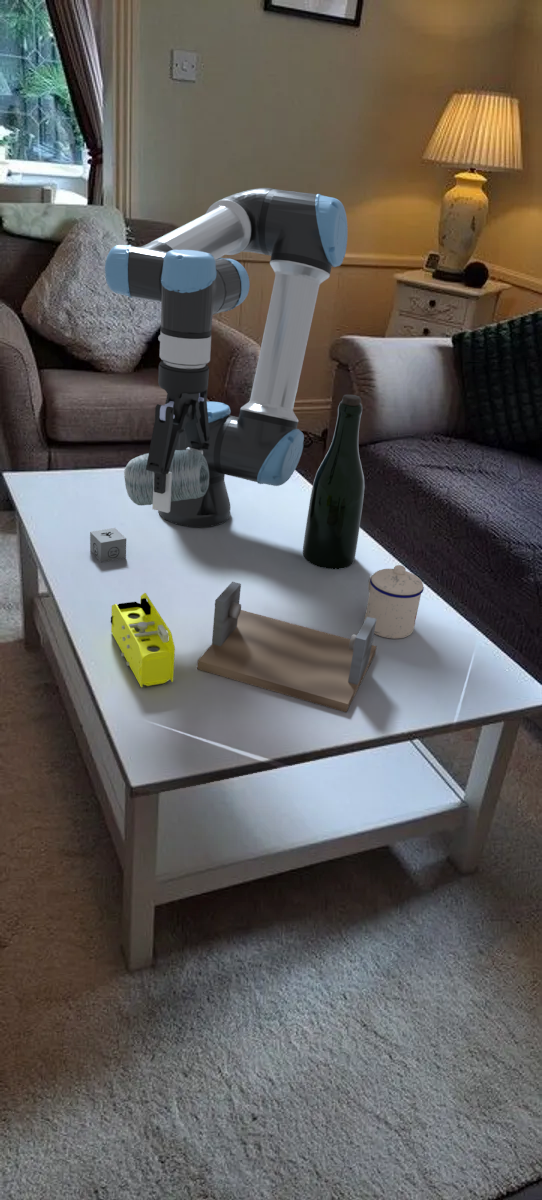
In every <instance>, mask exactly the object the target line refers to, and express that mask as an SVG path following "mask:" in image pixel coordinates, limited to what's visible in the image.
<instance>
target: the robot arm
mask: <svg viewBox="0 0 542 1200" xmlns="http://www.w3.org/2000/svg"><path fill="white" fill-rule="evenodd" d="M347 245H348V219H347V213H346V210H345V206H344V204H343V202H342V201H340V200H339V199H337V198H335V197H331V196H326V195H322V194H321V193H317V194H316V193H309V192H308V193H307V192H302V191H301V192H299V191H292V190H291V191H290V190H284V189H283V190H282V189H277V188H272V187H258V188H251V189H248V190H244V191H240V192H237V193H233V194H231V195H228V196H225V197H224V198H221V199H219V200H217V201H215V202H214V203H212V204H211V205H210V206H209V207H208V209H207V210H206V212H205V214H203V215H201V216H199V217H197V218H194V219H193V220H191V221H189V222H187V223H186V224H183V225H181V226H179V227H178V228H176V229H174V230H171V231H170V232H168V233H165V234H164V235H163V236H162V235H161V236H160V237H158V238H156V239H154V240H152V241H150V242H148V243H147V244H144V245H142V246H134V245H133V244H128V245H126V244H117V245H114V246H112V247H111V249H110V250H109V252H108V254H107V256H106V260H105V262H104V263H105V264H104V274H105V281H106V284H107V286H108V288H109V290H110V291H111V292H113V293H114V294H118V295H122V296H126V297H128V298H130V299H133V298H134V299H139V300H140V299H141V300H144V301H145V300H146V301H152V302H157V303H161V304H160V305H161V307H160V309H161V310H160V332H159V333H160V334H159V335H158V337H157V338H158V339H157V340H158V341H159V358H160V359H161V360H160V362H158V379H157V380H158V381H157V382H158V384H157V385H158V386H159V388H161V389H162V390H164V391H165V392H166V399H165V403H164V404H156V405H155V410H154V411H155V412H154V423H153V428H152V429H153V430H152V434H151V440H150V446H149V451H148V453H149V455H148V460H147V466H146V470H147V471H152V472H154V480H153V504H152V510H154V511H157V512H158V515H160V517H161V518H163V519H164V520H165V521H167V522H170V523H171V524H172V523H173V524H175V525H179V526H182V527H183V526H184V527H189V528H190V527H193V528H209V527H214V526H218V525H221V524H224V523H225V522H227V521H228V520H229V519H230V517H231V502H230V497H229V493H228V490H227V489H228V488H227V486H226V483H225V476H226V475H227V476H230V477H234V478H239V479H242V480H246V481H250V482H254V483H257V484H259V485H268V486H274V487H279V486H282V485H284V484H285V483H287V482H288V481H289V479H290V478H292V475H293V474H294V472H295V471H296V469H297V466H298V465H299V462H300V459H301V456H302V453H303V449H304V442H305V441H304V440H305V436H304V433H303V432H302V431H301V430H300V429H299V428H298V425H299V419H298V417H297V416H296V414H295V412H294V406H295V400H296V396H297V392H298V387H299V382H300V377H301V374H302V369H303V363H304V359H305V355H306V350H307V344H308V341H309V337H310V331H311V326H312V322H313V317H314V313H315V307H316V303H317V299H318V293H319V289H320V285H321V284H322V283H323V282H325V281H326V280H328V279H329V278H330V276H331V271H332V268H336V267H340V266H341V265H342V264H343V263H344V258H345V256H346V252H347ZM242 252H243V253H245V252H246V253H247V252H248V253H255V254H260V255H265V256H269V257H270V260H269V265H270V267H271V268H272V270H273V272H274V275H275V276H274V281H273V286H272V290H271V296H270V300H269V306H268V311H267V316H266V321H265V325H264V330H263V336H262V340H261V345H260V348H259V350H260V351H259V354H258V360H257V366H256V369H255V370H256V371H255V375H254V380H253V384H252V389H251V394H250V400H249V401H248V402H246V403H245V404H244V405H242V406H241V407H240V409H239V414H238V416H235V415H231V412H232V411H231V407H230V406H229V405H228V404H226V403H224V402H219V401H208V388H209V374H210V367H209V366H208V363H210V362H211V349H212V348H211V347H212V326H213V316H214V315H216V314H217V315H218V314H220V313H223V312H228V311H231V310H234V309H235V308H236V307H238V306H240V305H241V304H242V303H243V302H244V301H245V299H246V298H247V297H248V295H249V292H250V284H251V283H250V277H249V274H248V272H247V270H246V268H245V267H244V266H243V265H242V264H241V262H239V261H237V260H235V259H232V258H223V256H225V255H227V256H233V255H237V254H239V253H242ZM175 450H196V451H199V452H200V453H202V454H203V456H204V457H205V459H206V461H207V464H208V469H209V486H208V489H207V491H206V493H205V495H204V496H202V497H200V498H197V499H187V500H180V501H171V484H172V472H169V470H170V466H171V463H172V459H173V456H174V452H175Z"/></svg>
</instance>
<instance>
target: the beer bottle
mask: <svg viewBox="0 0 542 1200" xmlns="http://www.w3.org/2000/svg"><path fill="white" fill-rule="evenodd" d="M361 402H362V398H361V396H359V395H355V394H344V395H343V396H342V400H341V401H340V402H339V405H338V407H337V418H336V424H335V429H334V433H333V437H332V440H331V441H332V442H331V444H330V446H329V448H328V451H327V453H326V454H325V455H324V458H323V460H322V461H321V463H320V466H319V467H318V469H317V470H316V473H315V477H314V479H313V483H312V487H311V492H310V493H311V494H310V499H309V504H308V510H307V516H306V517H307V518H306V523H305V524H306V525H305V532H304V538H303V544H302V545H303V546H302V557H303V558H304V560H306V562H308V564H311V565H313V566H315V567H317V568H318V567H319V568H321V569H328V570H342V569H347V568H349V567H351V566H352V565H353V564H354V562H355V558H356V555H357V554H356V552H357V547H358V540H359V533H360V528H361V519H362V512H363V507H364V506H363V504H364V496H365V495H364V494H365V476H364V472H363V471H364V470H363V468H362V461H361V459H360V457H361V456H360V452H359V451H360V450H359V434H360V432H359V431H360V424H361V417H362V413H363V404H362V403H361Z"/></svg>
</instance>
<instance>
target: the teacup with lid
mask: <svg viewBox="0 0 542 1200" xmlns="http://www.w3.org/2000/svg"><path fill="white" fill-rule="evenodd" d="M367 585H368V586H367V587H368V588H367V589H368V598H367V599H368V600H367V604H366V611H365V616H364V621H365V620H366V618H367V617H370V618H374V619H377V620H376V625H375V631H374V635H376V636H379V637H381V638H385V639H392V640H393V639H404V638H407V637H409V636H411V634H413V632H414V630H415V625H416V621H417V620H416V619H417V615H418V611H419V606H420V601H421V596H422V593H424V592H423V591H424V590H425V589H424V588H425V587H424V583H423V581H422V580H421V578H420V577H418V576H417V575H416V574H414V573H412V572H410V571H407V569H406V567H405V566H404V565H401V564H400V565H399V564H398V565H395V566H394V567H393V568H383V569H379V570H377V571H375V572H374V573H373V574H371V576H370V577H369V579H368V584H367Z"/></svg>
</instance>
